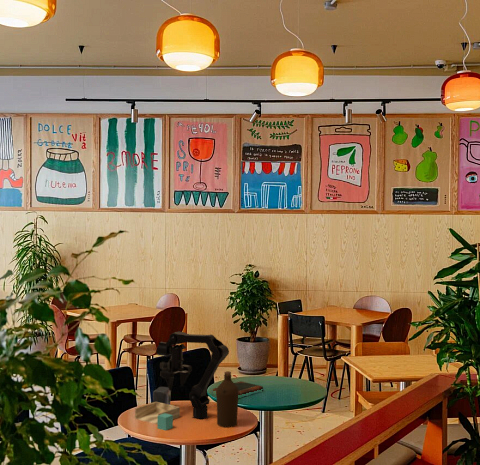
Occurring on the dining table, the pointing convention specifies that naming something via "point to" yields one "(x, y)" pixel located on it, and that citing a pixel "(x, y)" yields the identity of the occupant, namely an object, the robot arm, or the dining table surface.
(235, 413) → the olive oil
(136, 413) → the birch crate
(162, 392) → the small box
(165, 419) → the teal block
